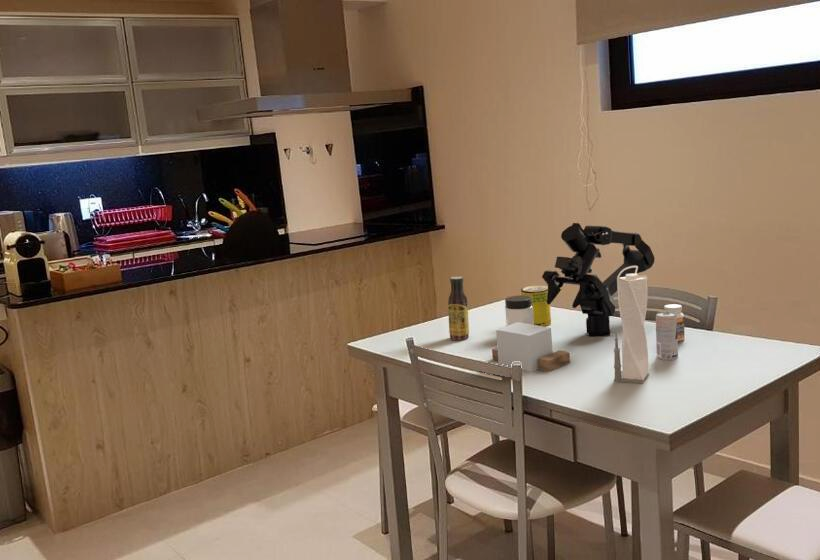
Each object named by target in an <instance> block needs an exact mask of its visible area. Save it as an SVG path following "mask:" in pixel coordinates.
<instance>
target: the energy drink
mask: <svg viewBox="0 0 820 560" xmlns="http://www.w3.org/2000/svg"><path fill="white" fill-rule="evenodd" d="M655 339H656V340H655V341H656V357H657V358H658V359H659V360H662V361H672V360H677V358H679V357H678V356H679V347H678V346H679V343H678V342H679V341H678V338H677V316H676V313H673V312H666V311H662V312H661V311H660V312H657V313H656V315H655Z"/></svg>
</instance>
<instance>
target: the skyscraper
mask: <svg viewBox="0 0 820 560" xmlns="http://www.w3.org/2000/svg"><path fill="white" fill-rule="evenodd" d="M629 268H636V270H635V274H634V273H631V274H626V277H620V278H619V276H620V274H621V273H622V272H623V271H624V270H626V269H629ZM637 270H638V266H629V267H626V268H624V269H623V270H622V271H621V272H620V273H619V275H618V277H617V288H618V291H617V299H618V300H617V302H618V309H619V315H620V321H621V325H622V336H621V348H620V347H619V342H618V341H619V338H618V332H617V331H615V332H614V333H615V338H614V348H613V352H614V359H613V360H614V365H613V368H614V369H613V370H614V378H613V383H615V382H616V383H627V384H639V385H640V384H641V385H643V383H645V381H646V379H648V377H649V375H650V370H649V369H650V368H649V365H650V364H649V349H648V339H647V332H646V327H645V322H646V315H647V309H648V308H647V307H648V293H649V291H648V287H649V286H648V276H647V275H639V273H637ZM620 350H621V351H620ZM620 352H621V354H620ZM621 359H622V361H621ZM621 362H622V363H621Z"/></svg>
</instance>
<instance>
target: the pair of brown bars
mask: <svg viewBox="0 0 820 560" xmlns="http://www.w3.org/2000/svg"><path fill="white" fill-rule="evenodd" d="M570 353H571V352H570V351H565V350H556V351H554V352H553V353H551V354H549V355H546V356H544V357H541V358H539V359H538V364H539V369H538V370H540V371H543V372H549V373H550V372H552V371H554V370H556V369H559V368H561V367H564V366H566V365H568V364H570V363H571V354H570ZM491 354H492V360H496V361H498V348H497V346H496V347H493V348H491Z"/></svg>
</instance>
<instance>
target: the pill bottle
mask: <svg viewBox="0 0 820 560" xmlns="http://www.w3.org/2000/svg"><path fill="white" fill-rule="evenodd" d="M663 307H664V312H673V313H676V316H677V338H678V342H681V341H683V340H684V339H685V315H684V313H683V312H682V310H683V307H682V305H681V304H676V303H673V304H672V303H671V304H669V303H668V304H665V305H664V306H663Z"/></svg>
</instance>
